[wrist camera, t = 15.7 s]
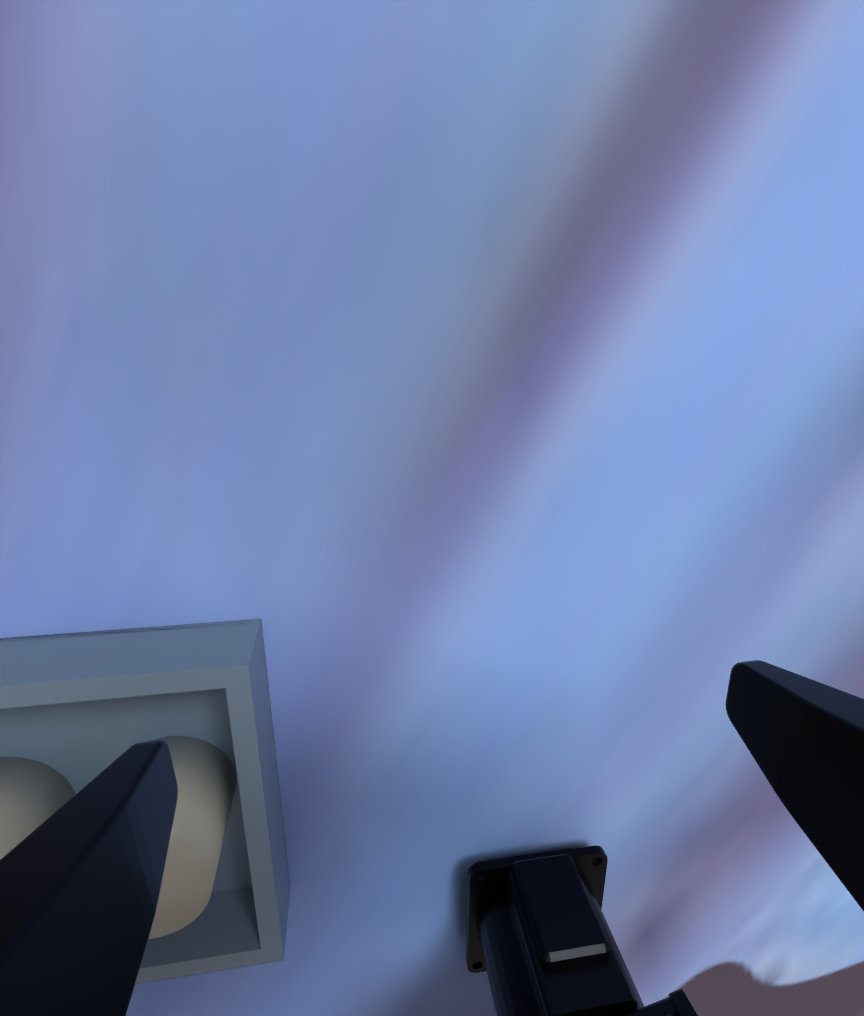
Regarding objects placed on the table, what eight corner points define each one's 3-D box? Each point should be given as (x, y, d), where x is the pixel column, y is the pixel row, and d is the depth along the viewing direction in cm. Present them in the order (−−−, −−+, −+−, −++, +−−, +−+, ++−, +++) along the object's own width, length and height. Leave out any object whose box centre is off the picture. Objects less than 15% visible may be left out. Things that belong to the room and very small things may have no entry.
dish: (290, 888, 25) (283, 960, 22) (-48, 937, 23) (-102, 1022, 20) (261, 618, 21) (248, 664, 18) (-155, 650, 19) (-243, 706, 16)
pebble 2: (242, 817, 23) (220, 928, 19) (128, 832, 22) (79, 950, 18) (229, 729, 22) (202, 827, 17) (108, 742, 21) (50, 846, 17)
